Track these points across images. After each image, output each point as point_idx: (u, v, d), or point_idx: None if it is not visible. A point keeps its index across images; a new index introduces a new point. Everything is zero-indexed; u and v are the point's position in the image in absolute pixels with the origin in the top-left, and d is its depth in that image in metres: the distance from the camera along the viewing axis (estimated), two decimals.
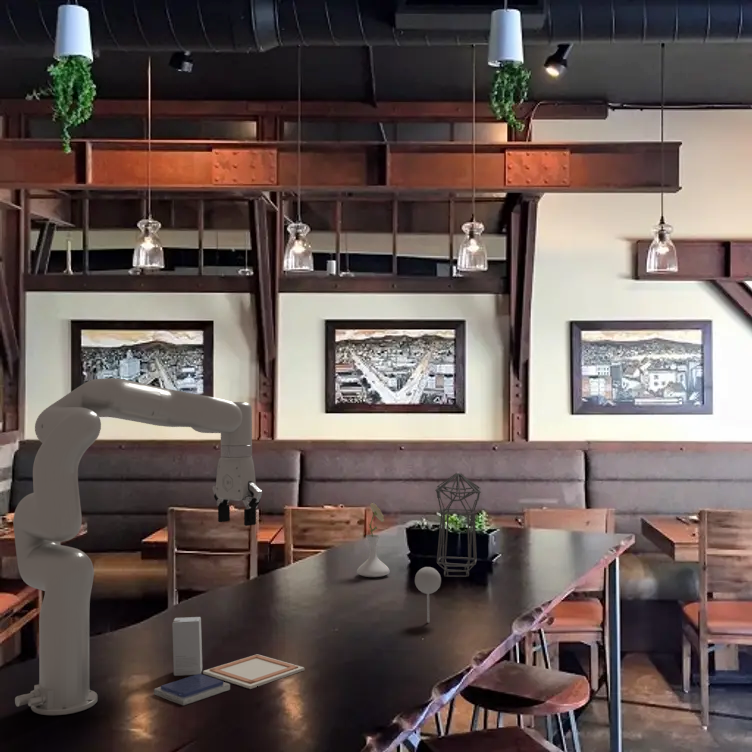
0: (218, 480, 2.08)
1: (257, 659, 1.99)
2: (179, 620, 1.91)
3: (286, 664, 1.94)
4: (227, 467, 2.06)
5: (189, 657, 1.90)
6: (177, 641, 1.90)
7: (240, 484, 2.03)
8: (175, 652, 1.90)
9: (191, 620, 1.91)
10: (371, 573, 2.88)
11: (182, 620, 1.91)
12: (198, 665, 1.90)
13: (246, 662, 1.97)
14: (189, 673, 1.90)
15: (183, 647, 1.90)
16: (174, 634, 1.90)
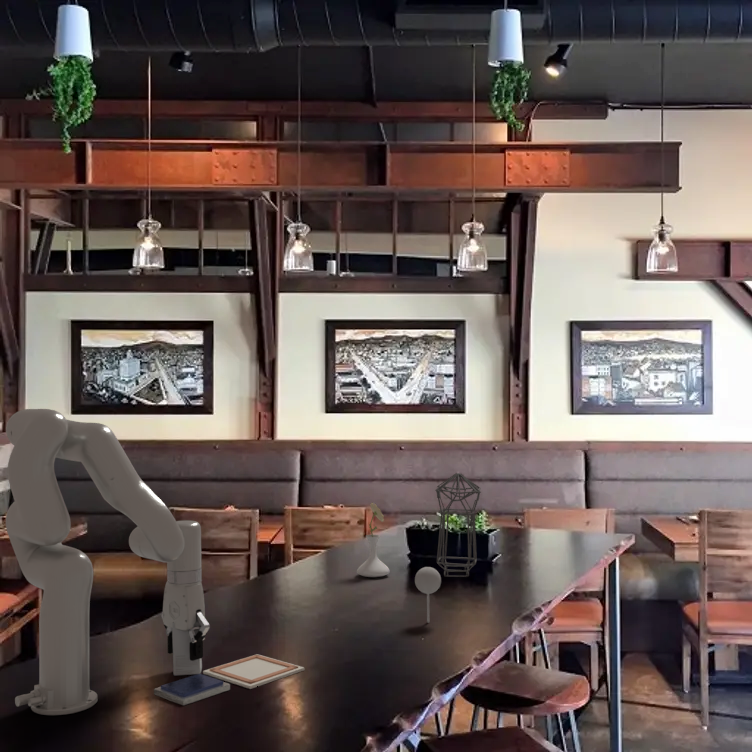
0: (165, 606, 1.93)
1: (257, 659, 1.99)
2: None
3: (286, 664, 1.94)
4: (174, 594, 1.90)
5: (188, 657, 1.90)
6: (176, 641, 1.90)
7: (187, 614, 1.87)
8: (175, 652, 1.90)
9: None
10: (371, 573, 2.88)
11: None
12: (198, 665, 1.90)
13: (246, 662, 1.97)
14: (189, 673, 1.90)
15: (182, 647, 1.90)
16: (174, 634, 1.90)
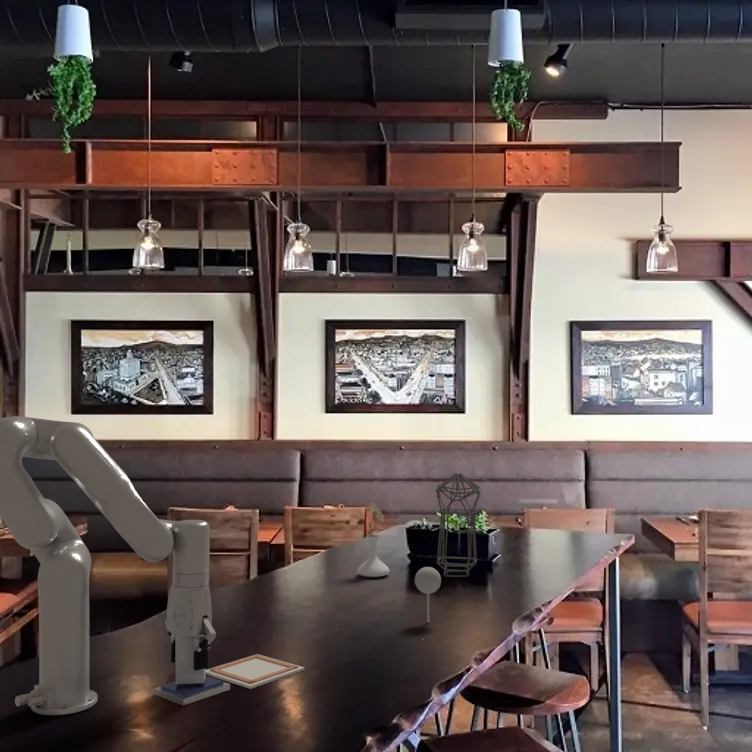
0: (169, 611, 1.80)
1: (257, 659, 1.99)
2: None
3: (286, 664, 1.94)
4: (179, 598, 1.78)
5: (192, 664, 1.78)
6: (180, 647, 1.77)
7: (193, 620, 1.75)
8: (178, 659, 1.77)
9: None
10: (371, 573, 2.88)
11: None
12: (202, 673, 1.78)
13: (246, 662, 1.97)
14: (192, 682, 1.78)
15: (186, 654, 1.77)
16: (177, 640, 1.77)
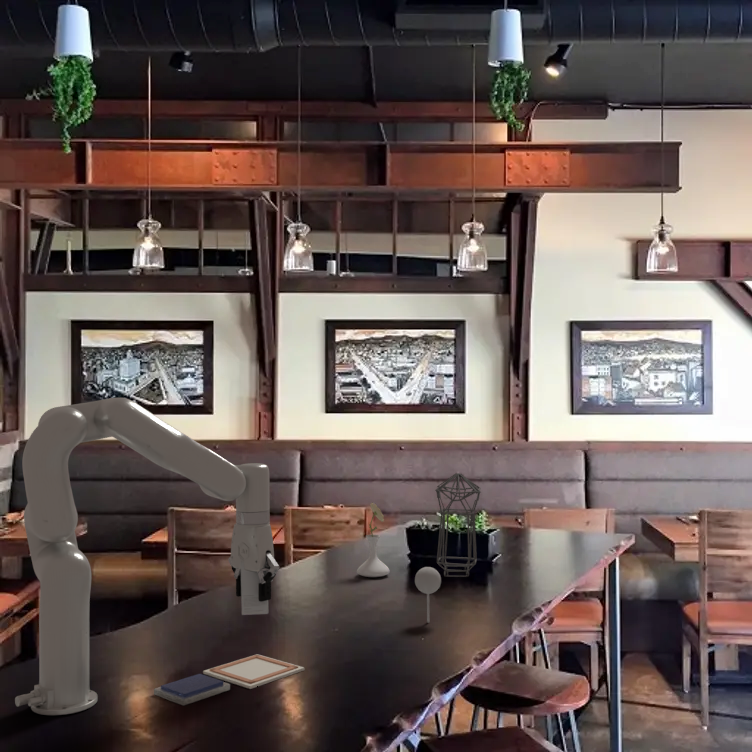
0: (233, 548, 1.93)
1: (257, 659, 1.99)
2: None
3: (286, 664, 1.94)
4: (243, 535, 1.91)
5: (257, 596, 1.91)
6: (245, 580, 1.91)
7: (257, 554, 1.88)
8: (244, 592, 1.91)
9: None
10: (371, 573, 2.88)
11: None
12: (266, 604, 1.91)
13: (246, 662, 1.97)
14: (257, 612, 1.91)
15: (251, 587, 1.91)
16: (242, 573, 1.91)
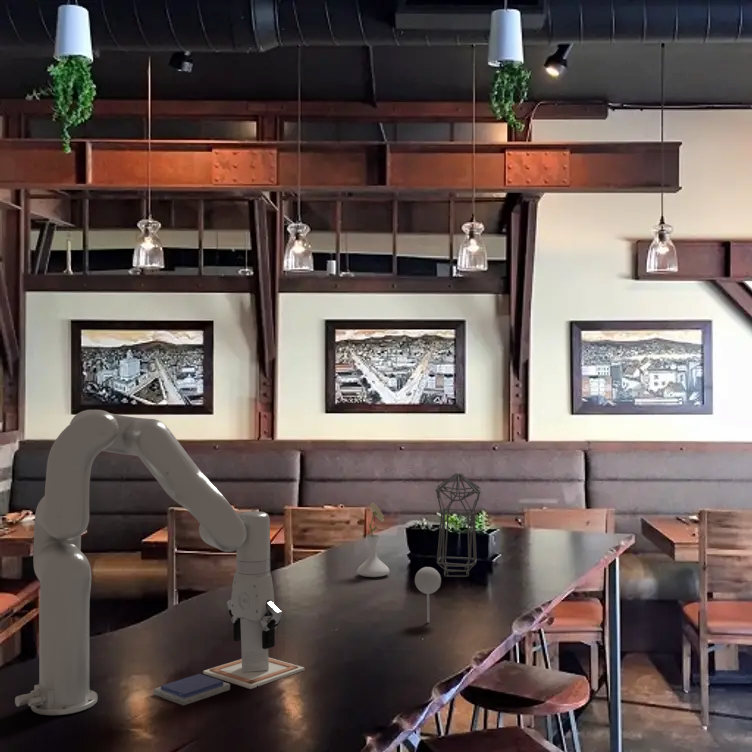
0: (234, 597, 1.93)
1: None
2: None
3: (286, 664, 1.94)
4: (243, 584, 1.91)
5: (257, 653, 1.90)
6: (245, 637, 1.90)
7: (258, 604, 1.88)
8: (244, 649, 1.90)
9: None
10: (371, 573, 2.88)
11: None
12: (266, 661, 1.91)
13: None
14: (258, 669, 1.90)
15: (251, 643, 1.90)
16: (243, 630, 1.90)
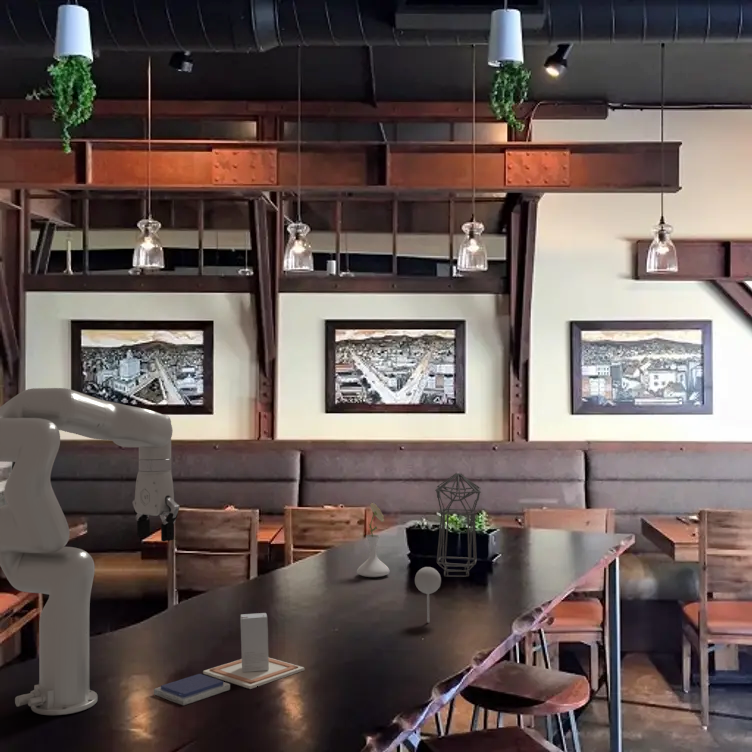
0: (136, 494, 2.04)
1: None
2: (247, 616, 1.91)
3: (286, 664, 1.94)
4: (145, 481, 2.02)
5: (257, 653, 1.90)
6: (245, 637, 1.90)
7: (157, 499, 1.99)
8: (244, 649, 1.90)
9: (259, 616, 1.91)
10: (371, 573, 2.88)
11: (250, 616, 1.91)
12: (266, 661, 1.91)
13: None
14: (258, 669, 1.90)
15: (251, 643, 1.90)
16: (243, 630, 1.90)
